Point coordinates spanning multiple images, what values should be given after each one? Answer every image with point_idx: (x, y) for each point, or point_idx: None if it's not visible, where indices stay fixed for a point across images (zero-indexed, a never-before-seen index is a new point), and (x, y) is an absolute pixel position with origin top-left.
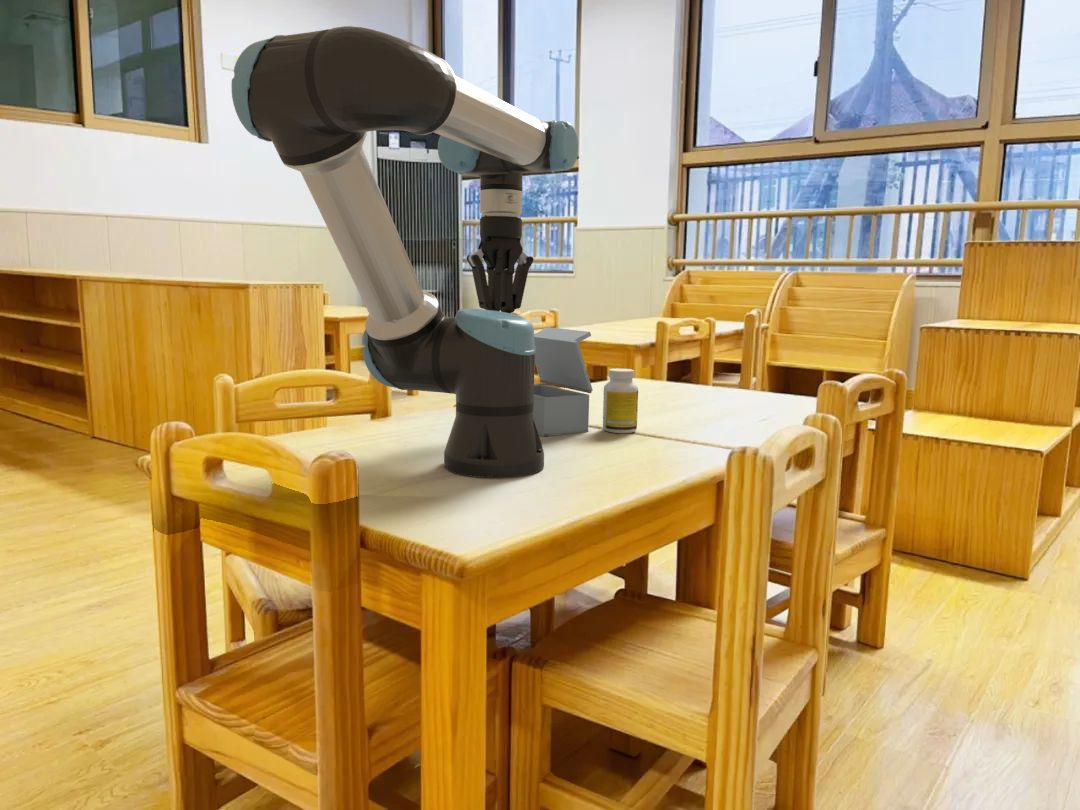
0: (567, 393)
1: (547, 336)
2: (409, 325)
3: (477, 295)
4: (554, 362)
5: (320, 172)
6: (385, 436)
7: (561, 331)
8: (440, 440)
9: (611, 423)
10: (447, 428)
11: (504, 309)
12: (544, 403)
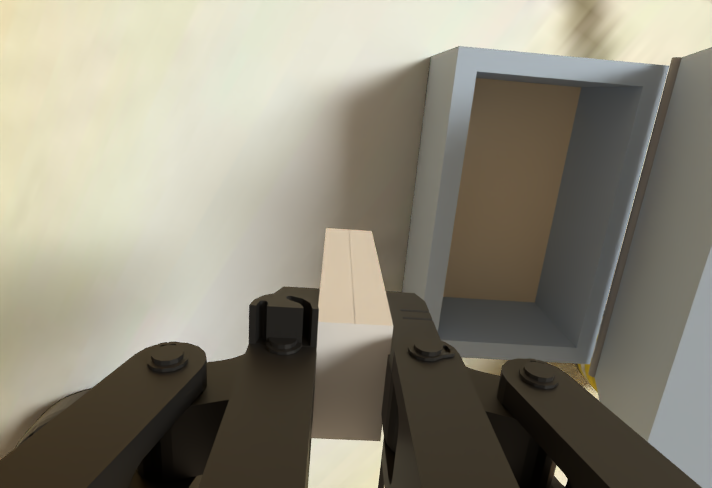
0: (591, 269)
1: None
2: None
3: (40, 438)
4: (660, 241)
5: None
6: (5, 60)
7: None
8: (135, 199)
9: (581, 367)
10: (233, 51)
11: (384, 419)
12: None
